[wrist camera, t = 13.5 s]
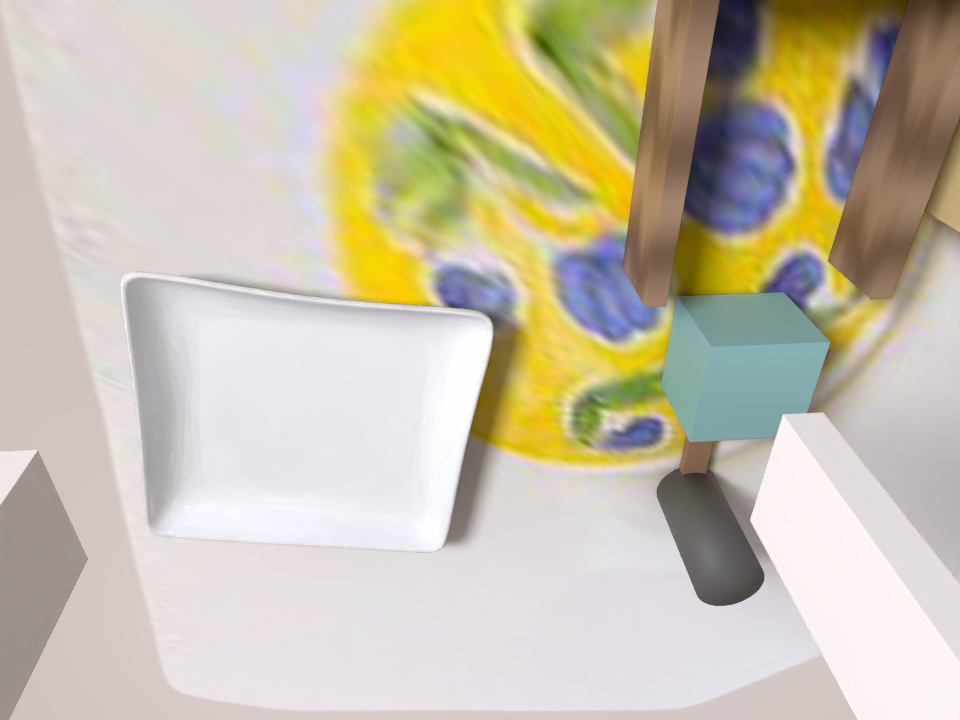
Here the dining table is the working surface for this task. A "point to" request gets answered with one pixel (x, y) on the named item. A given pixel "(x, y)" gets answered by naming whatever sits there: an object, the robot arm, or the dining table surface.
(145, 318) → the salad plate
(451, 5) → the dining table surface
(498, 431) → the dining table surface
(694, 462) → the block
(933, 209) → the block
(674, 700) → the dining table surface
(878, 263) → the lane rack
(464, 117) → the dining table surface
